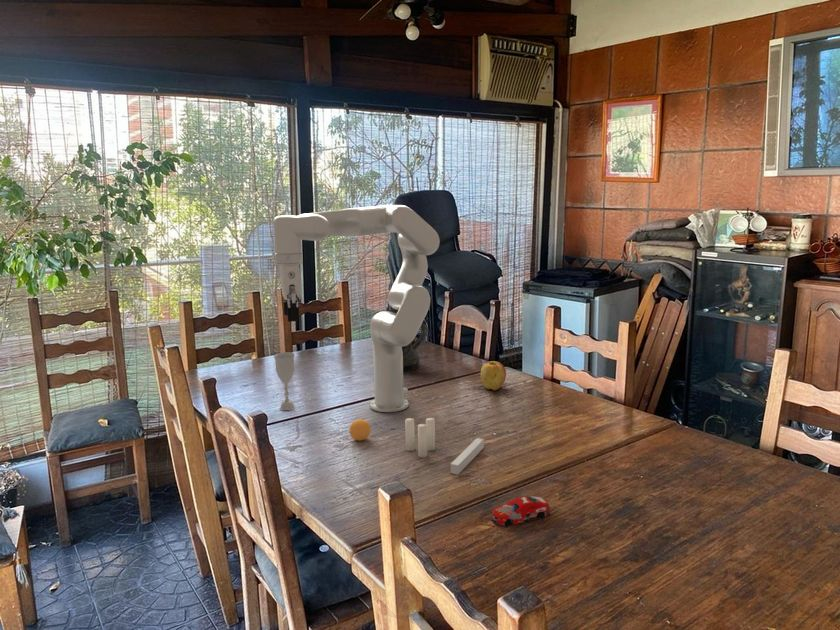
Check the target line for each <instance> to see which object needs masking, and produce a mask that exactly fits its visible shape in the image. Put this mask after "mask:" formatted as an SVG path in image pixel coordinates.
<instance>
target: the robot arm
mask: <svg viewBox="0 0 840 630" xmlns="http://www.w3.org/2000/svg"><path fill="white" fill-rule="evenodd" d="M386 233H396V234H398V236H397V243H398V247H399V249H400V252H401V256H402V262H401V267H400V269H399V271H398V274H397V276H396V278H395V279H394V282H393V284H392V286H391V287H390V290H389V291H388V296H387V303H388V304H389V306H390V307H391V308H392V309H393V308H394V309H396V310H398V313H397V314H396V313H393V312H389V311H388V310H384V311H383V310H382V311H380V312H377V313H375V314H374V316H372V318H371V320H370V323H369V333H370V338H371V342H372V352H373V353H372V354H373V384H374V385H373V387H374V399H373V400H371V401H370V403H369V406H370V409H371V410H373V411H376V412H380V413H397V412H400V411H404V410H405V409H407V408H409V407H408V406H409V401H408V400H407V399H406V398H404V396H405V394H406V393H408V391H409V389H408V388H407V387H404V372H403V352H402V347H403V346H406V345H408V344H410V343H411V342H412V341H413V339H414V338H415V339H416V336H417V334H418V333H419V331H420V329H421V328H420V326H421V324H422V322H423V320H425V318H426V316H427V313H428V311H429V309H430V307H431V295H430V293H429V291H428V289H427V288H426V287H424V286H423V283H424V281H425V279H426V277H427V273H428V269H429V267H428V265H429V264H428V259H427V256H430V255H433V254H434V253H436V252H437V250H438V249H439V247H440V242H441V241H440V236H439V234H438V232H437V231H436V230H435V228H433V227H432V226H431V225H430V224H429V223H428V222H427V221H425V220H424V218H422V217H421V216H420V214H417V212H416V211H415V210H413V209H411V208H410V207H408V206H407V205H403V204H384V205H372V206H364V207H363V206H362V207H353V208H352V207H351V208H343V209H338V210H330V211H329V210H328V211H317V212H309V213H301V214H299V215H277V216H276V217H274V219H273V235H274V236H273V237H274V255H275V256H274V259H275V260H274V261H275V266H279V274H280V288H281V294H282V295H281V296H282V298H283V314H284V316H287V322H289V323H291V322H299V321H300V307H299V301H298V299H299V300H302V298H303V293H302V280H301V278H302V277H301V268H300V265H303V248H302V247H303V246H302V244H303V243H302V241H314V242H317V241H322V240H324V239H325V238H327V237H335V236H336V237H337V236H338V237H339V236H340V237H350V238H351V237H352V238H353V237H364V236H370V235H371V236H372V235H377V234H380V235H381V234H386Z"/></svg>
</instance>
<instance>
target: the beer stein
mask: <svg viewBox="0 0 840 630" xmlns="http://www.w3.org/2000/svg"><path fill="white" fill-rule="evenodd" d="M388 312H393V313H396V314H397V313H398V310H396V309H394V308H392V309H390V310H389V311H388ZM419 329H420V331H421V332H420V334H419V337H418V338H417V339H416V337H415V338H414V339H413V341H412V342H411V343H410V344H408V345H406V346H403V347H402V352H403V371H405V372H409V371H408V370H411V371H413V369H414V370H416V369H418V367H419V364H420V356H419V353H418V348H419V346H421V345H422V344H423V342H424V341H425V340H426V338H427V335H428V332H429V331H428V324H427V322H426V320H425V319H424V320H423V322H422V324H421V326H420V328H419ZM415 339H416V340H415ZM415 368H416V369H415Z"/></svg>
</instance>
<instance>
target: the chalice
mask: <svg viewBox="0 0 840 630" xmlns="http://www.w3.org/2000/svg"><path fill="white" fill-rule="evenodd" d="M295 356H296V353H294V352H289V351H287V352H286V351H285V352H279V353H275V354H274V355H273V358H274V362H275V371H276V374H277V377H278V378H279V380H280V383H282V384H284V388H283V390H284V393H283V395H284V398H285V399H284V400H283V401H282V402H281V403H280V404H281V405H280V407H279V410H280V409H281V410H280V411H282V410H289V411H292V409H293V410H294V409H296V406H295V405H294V401H292V400H290V399H289V395H290V393H289V390H290V388H289V387H288V384H289V383H290V382H291V380H292V378H293V375H294V371H295V361H294V359H295Z"/></svg>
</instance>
